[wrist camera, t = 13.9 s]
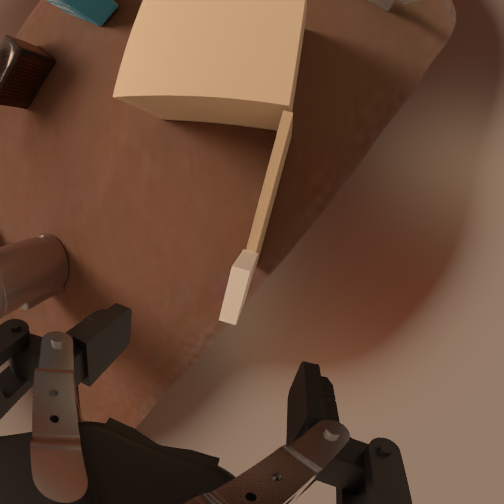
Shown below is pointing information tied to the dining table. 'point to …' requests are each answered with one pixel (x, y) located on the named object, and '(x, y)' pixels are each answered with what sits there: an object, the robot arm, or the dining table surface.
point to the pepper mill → (21, 71)
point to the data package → (88, 9)
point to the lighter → (388, 3)
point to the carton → (214, 60)
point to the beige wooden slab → (257, 226)
